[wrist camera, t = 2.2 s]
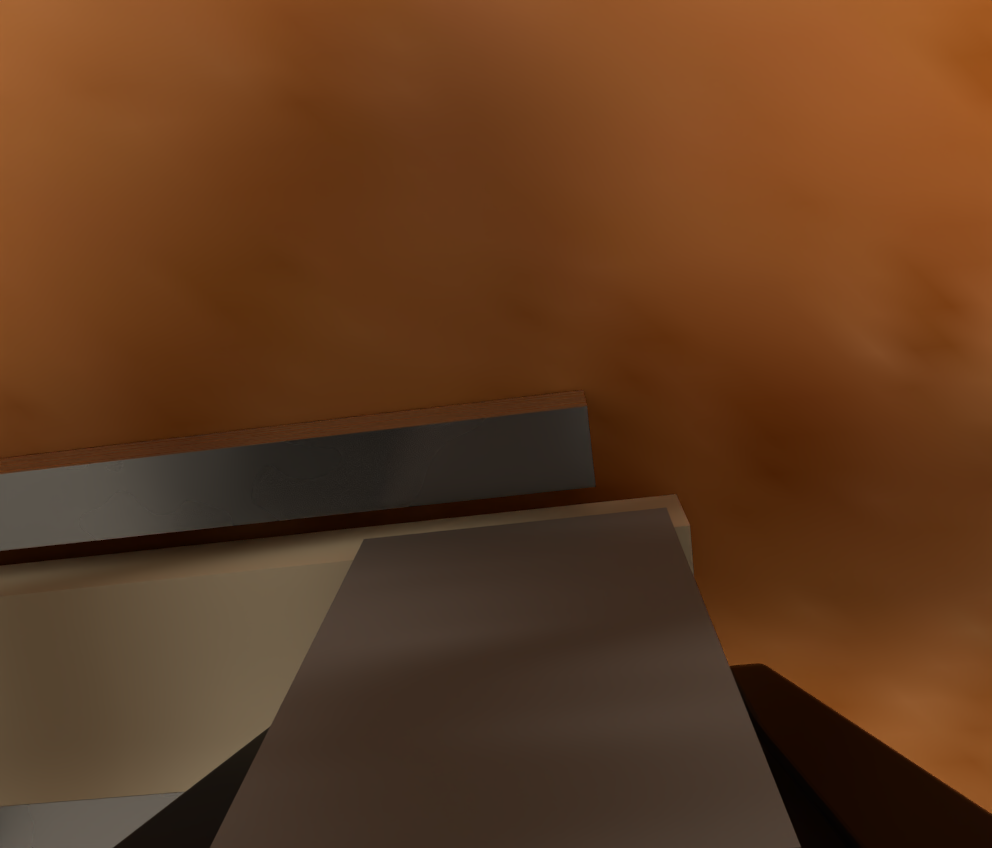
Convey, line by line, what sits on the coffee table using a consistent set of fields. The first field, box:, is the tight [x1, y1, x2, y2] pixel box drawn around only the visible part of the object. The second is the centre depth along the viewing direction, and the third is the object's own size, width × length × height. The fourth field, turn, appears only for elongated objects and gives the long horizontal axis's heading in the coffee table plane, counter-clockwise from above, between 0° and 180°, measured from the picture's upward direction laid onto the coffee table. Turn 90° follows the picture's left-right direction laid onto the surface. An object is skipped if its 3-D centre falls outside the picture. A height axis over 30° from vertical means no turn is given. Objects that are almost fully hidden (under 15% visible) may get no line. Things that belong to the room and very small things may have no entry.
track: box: [0, 390, 596, 848], centre depth 11 cm, size 13×6×1 cm, turn 98°
